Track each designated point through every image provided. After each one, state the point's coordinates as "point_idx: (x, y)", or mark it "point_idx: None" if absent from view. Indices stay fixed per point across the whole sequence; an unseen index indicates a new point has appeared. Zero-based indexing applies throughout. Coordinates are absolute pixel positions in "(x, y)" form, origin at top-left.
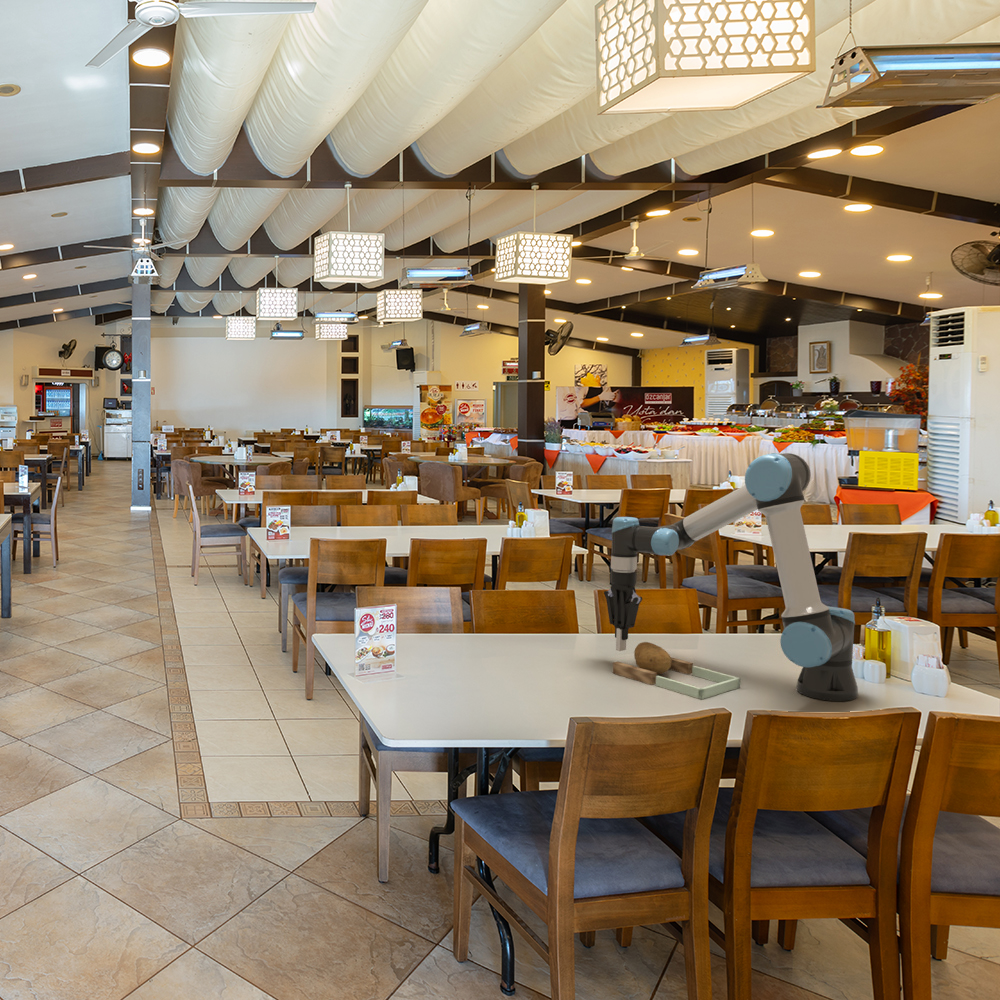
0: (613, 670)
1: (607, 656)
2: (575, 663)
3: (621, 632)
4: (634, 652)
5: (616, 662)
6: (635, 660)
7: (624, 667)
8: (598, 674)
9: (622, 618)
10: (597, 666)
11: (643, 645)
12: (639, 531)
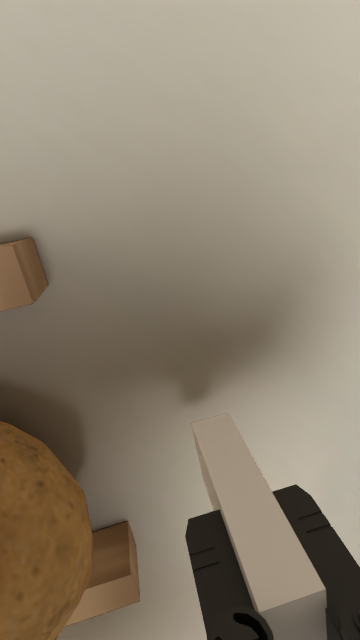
0: (21, 240)
1: (335, 401)
2: (334, 141)
3: (245, 576)
4: (35, 480)
5: (6, 275)
6: (3, 433)
7: None
8: (36, 113)
9: None
10: (211, 237)
11: None
12: None
